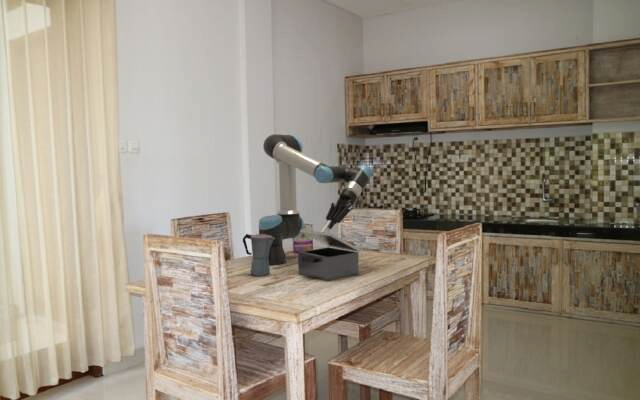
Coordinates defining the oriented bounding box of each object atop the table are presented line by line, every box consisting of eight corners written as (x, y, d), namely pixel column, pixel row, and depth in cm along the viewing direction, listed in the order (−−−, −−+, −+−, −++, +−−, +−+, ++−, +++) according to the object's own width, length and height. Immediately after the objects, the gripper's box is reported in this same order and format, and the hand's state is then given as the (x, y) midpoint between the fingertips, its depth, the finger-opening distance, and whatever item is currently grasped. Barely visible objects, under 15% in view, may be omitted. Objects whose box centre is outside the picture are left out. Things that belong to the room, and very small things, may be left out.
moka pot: (272, 277, 215) (271, 231, 214) (239, 276, 218) (237, 231, 217) (278, 272, 224) (277, 228, 223) (246, 271, 227) (245, 228, 226)
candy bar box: (311, 250, 282) (311, 222, 281) (313, 252, 277) (312, 223, 276) (292, 251, 280) (291, 223, 279) (293, 253, 275) (292, 224, 274)
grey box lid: (299, 231, 220) (300, 229, 221) (328, 246, 232) (329, 244, 232) (330, 236, 204) (331, 233, 204) (359, 251, 215) (360, 249, 216)
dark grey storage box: (294, 274, 219) (293, 252, 218) (329, 268, 232) (328, 247, 231) (323, 282, 203) (322, 258, 203) (358, 274, 216) (358, 252, 215)
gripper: (364, 199, 222) (338, 240, 212) (345, 198, 232) (318, 237, 222) (356, 188, 218) (328, 229, 208) (336, 187, 228) (309, 227, 218)
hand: (323, 233), depth 215 cm, fingers closed
